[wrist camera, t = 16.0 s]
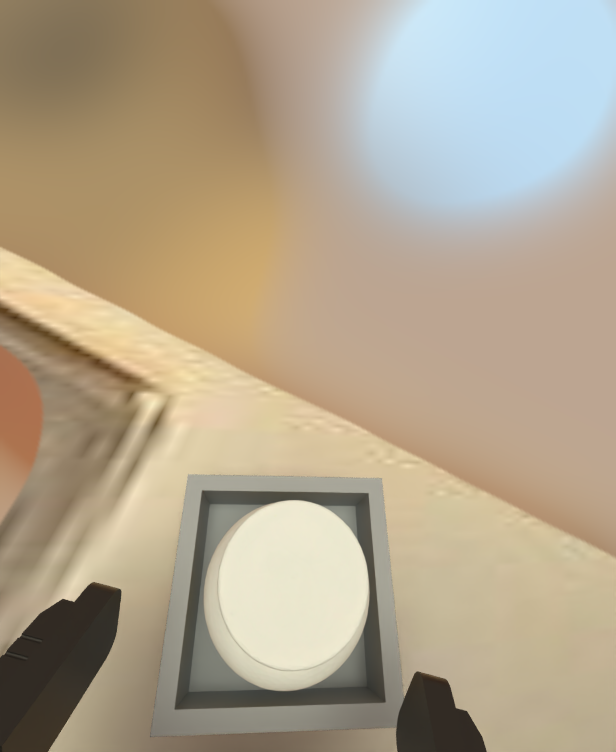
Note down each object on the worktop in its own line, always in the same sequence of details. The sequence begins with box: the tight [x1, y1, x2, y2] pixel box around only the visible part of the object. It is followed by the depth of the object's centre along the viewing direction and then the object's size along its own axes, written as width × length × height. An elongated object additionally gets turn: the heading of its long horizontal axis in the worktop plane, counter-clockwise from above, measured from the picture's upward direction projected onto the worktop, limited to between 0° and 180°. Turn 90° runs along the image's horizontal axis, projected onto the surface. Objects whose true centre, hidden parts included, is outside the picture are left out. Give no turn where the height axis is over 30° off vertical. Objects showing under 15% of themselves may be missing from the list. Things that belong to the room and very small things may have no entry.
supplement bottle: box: [204, 500, 370, 691], centre depth 14 cm, size 5×5×10 cm
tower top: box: [150, 474, 404, 737], centre depth 18 cm, size 9×9×4 cm
